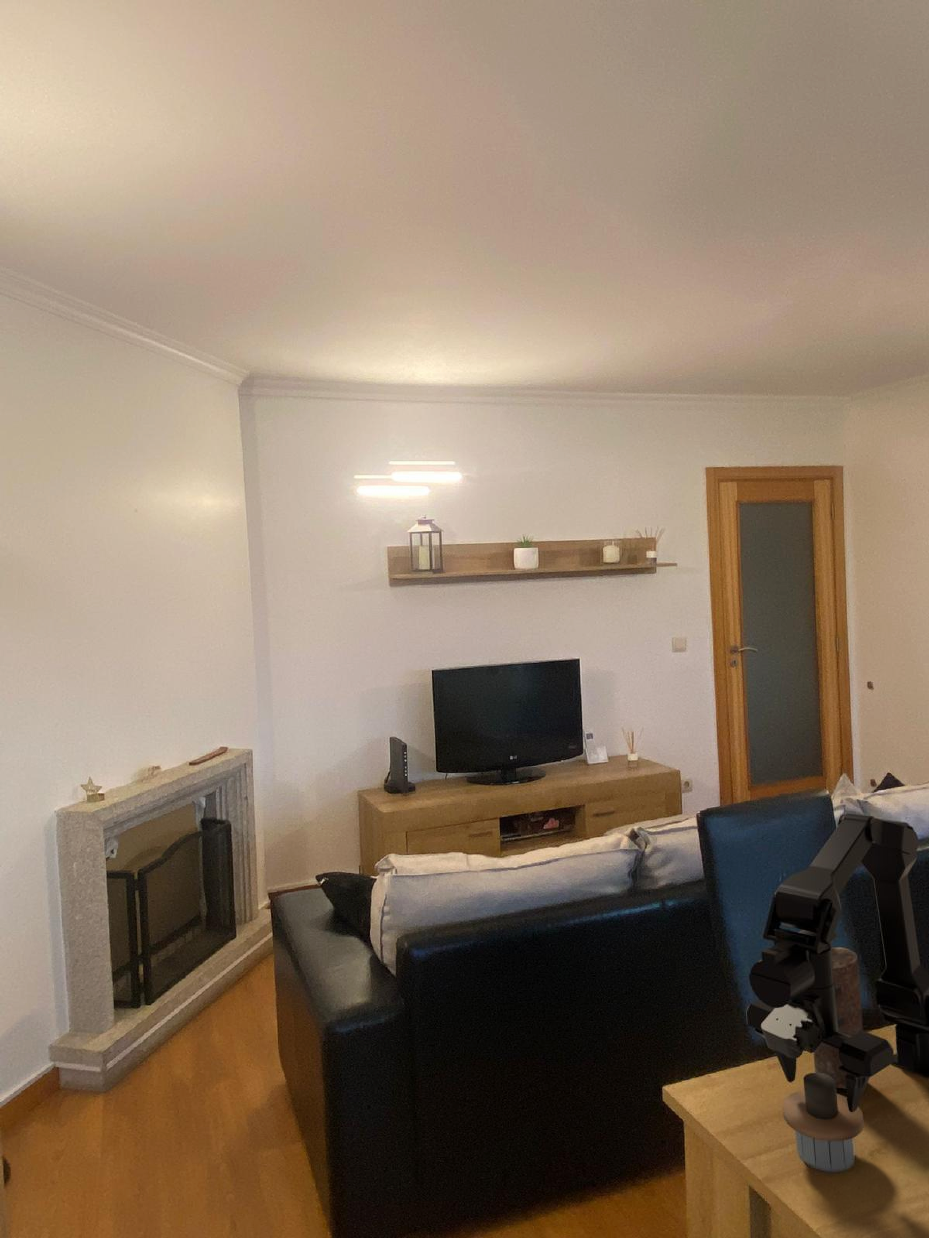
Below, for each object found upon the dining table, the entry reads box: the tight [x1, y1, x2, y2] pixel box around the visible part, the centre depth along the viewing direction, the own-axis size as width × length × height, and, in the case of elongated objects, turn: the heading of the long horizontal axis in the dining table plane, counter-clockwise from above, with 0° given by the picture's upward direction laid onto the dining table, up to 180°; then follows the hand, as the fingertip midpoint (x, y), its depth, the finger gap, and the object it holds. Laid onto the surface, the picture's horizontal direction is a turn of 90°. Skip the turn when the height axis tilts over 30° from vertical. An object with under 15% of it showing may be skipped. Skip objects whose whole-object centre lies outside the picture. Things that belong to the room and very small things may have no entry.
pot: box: [795, 1131, 856, 1173], centre depth 113 cm, size 7×7×5 cm
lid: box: [782, 1072, 865, 1141], centre depth 113 cm, size 10×10×5 cm
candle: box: [813, 946, 864, 1089], centre depth 129 cm, size 8×7×20 cm
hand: (821, 1095), depth 113 cm, fingers open, 9 cm apart
